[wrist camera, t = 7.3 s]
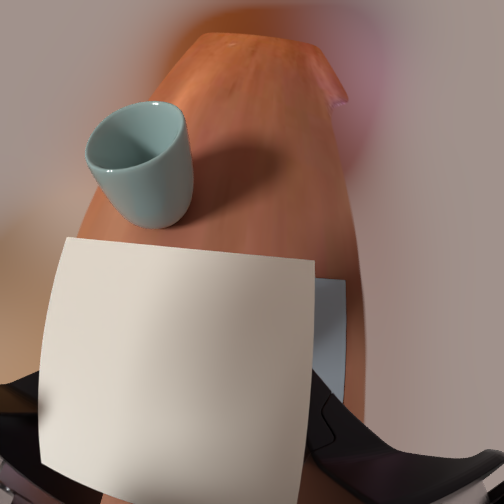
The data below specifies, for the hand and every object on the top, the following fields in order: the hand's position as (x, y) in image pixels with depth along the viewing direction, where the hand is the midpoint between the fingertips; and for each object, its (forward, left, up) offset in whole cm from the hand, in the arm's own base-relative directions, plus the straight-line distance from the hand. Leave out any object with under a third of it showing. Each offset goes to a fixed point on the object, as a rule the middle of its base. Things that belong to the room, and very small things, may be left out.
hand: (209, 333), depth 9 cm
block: (-1, -1, -7) cm, 7 cm away
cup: (+8, +13, -13) cm, 20 cm away
